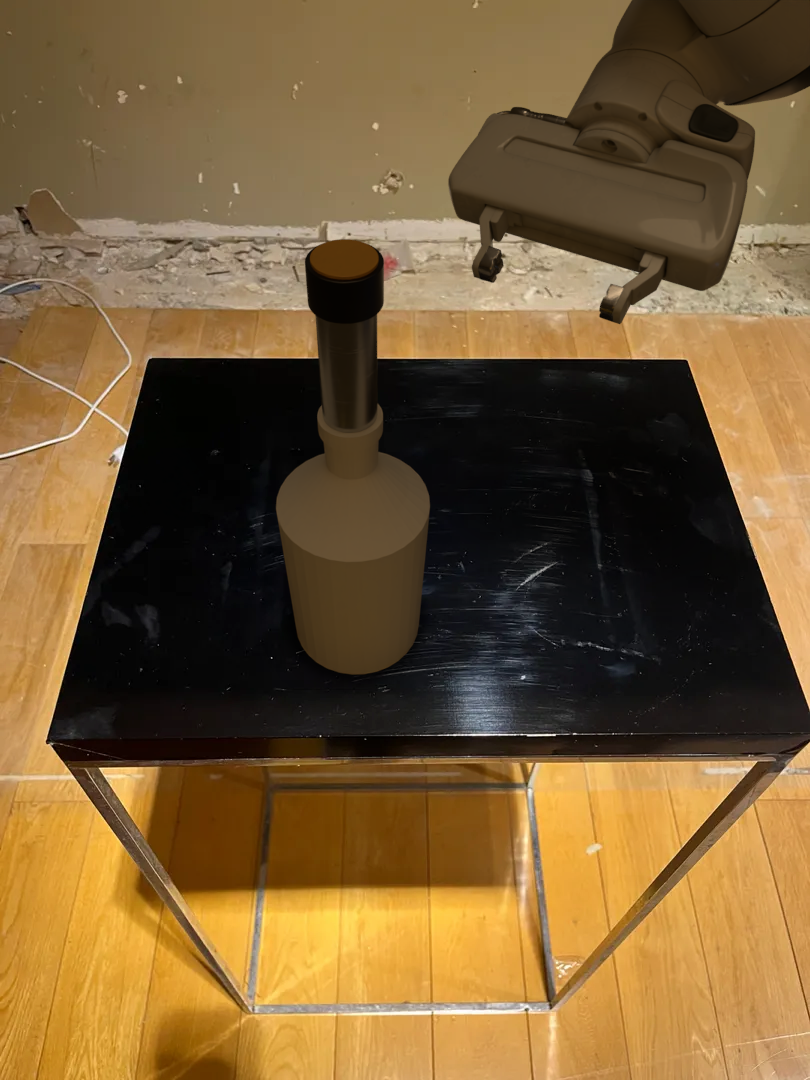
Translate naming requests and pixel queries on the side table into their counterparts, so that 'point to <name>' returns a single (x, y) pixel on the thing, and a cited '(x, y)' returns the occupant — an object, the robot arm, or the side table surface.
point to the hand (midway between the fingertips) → (543, 295)
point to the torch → (346, 329)
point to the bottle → (354, 551)
